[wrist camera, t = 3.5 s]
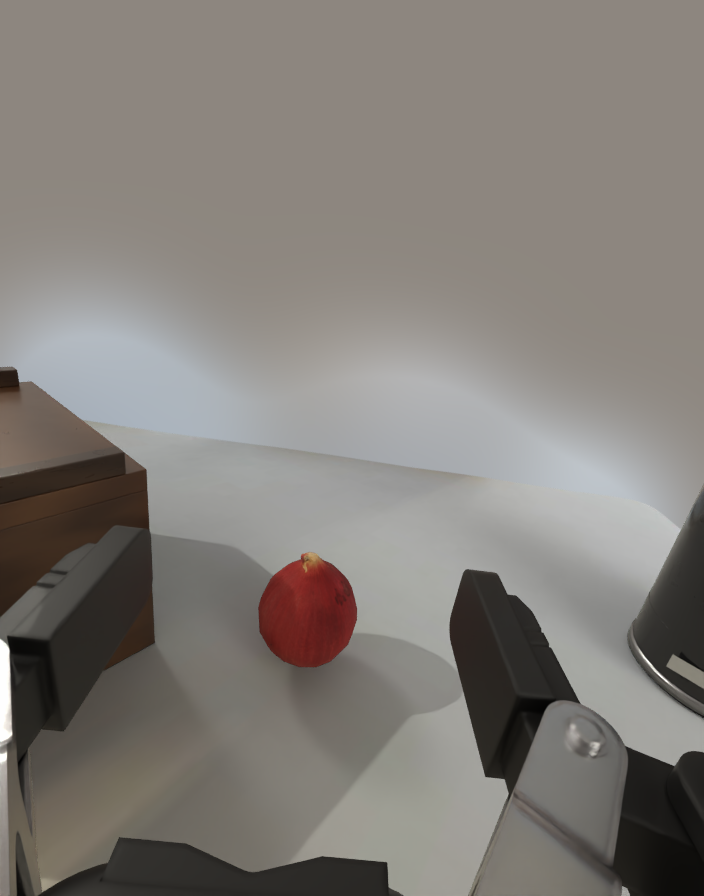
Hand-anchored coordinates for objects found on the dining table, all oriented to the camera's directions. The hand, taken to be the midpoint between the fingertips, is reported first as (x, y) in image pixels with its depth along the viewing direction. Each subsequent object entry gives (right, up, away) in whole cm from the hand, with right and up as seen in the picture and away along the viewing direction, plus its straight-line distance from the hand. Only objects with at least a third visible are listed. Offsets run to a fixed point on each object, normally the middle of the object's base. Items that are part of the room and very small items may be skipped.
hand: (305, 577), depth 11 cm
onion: (-2, -10, +16) cm, 19 cm away
